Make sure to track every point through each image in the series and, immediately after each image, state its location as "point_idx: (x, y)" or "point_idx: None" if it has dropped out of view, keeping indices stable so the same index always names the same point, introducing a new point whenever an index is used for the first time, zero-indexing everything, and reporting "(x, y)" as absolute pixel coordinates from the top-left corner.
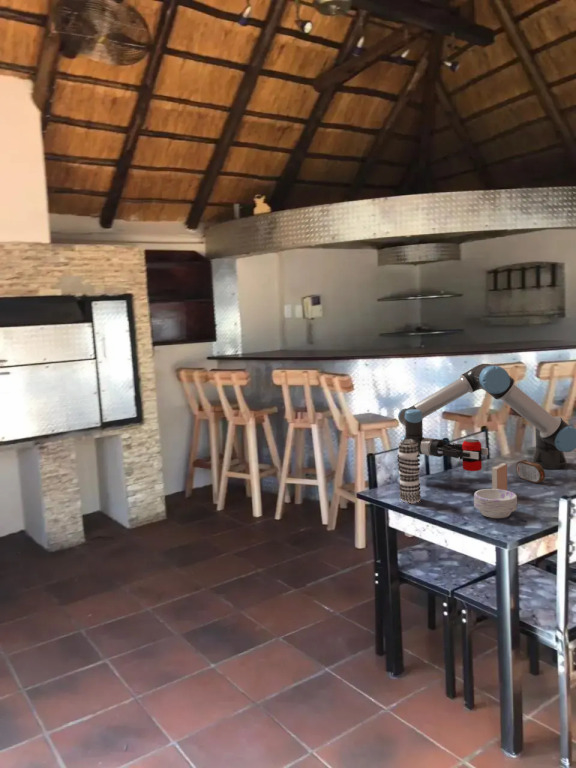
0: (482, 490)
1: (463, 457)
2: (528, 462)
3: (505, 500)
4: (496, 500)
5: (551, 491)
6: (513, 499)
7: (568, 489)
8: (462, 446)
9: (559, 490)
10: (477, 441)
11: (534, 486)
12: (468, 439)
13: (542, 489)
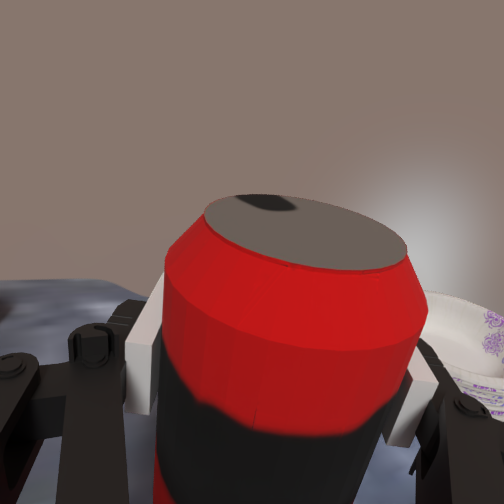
0: (468, 371)
1: (365, 469)
2: None
3: (469, 302)
4: (501, 316)
5: (87, 306)
6: (433, 292)
7: (53, 280)
8: (393, 371)
9: (70, 294)
10: (304, 199)
11: (16, 350)
12: (257, 246)
13: (63, 326)
